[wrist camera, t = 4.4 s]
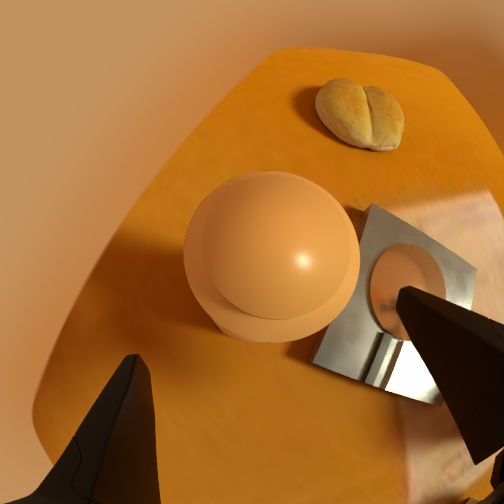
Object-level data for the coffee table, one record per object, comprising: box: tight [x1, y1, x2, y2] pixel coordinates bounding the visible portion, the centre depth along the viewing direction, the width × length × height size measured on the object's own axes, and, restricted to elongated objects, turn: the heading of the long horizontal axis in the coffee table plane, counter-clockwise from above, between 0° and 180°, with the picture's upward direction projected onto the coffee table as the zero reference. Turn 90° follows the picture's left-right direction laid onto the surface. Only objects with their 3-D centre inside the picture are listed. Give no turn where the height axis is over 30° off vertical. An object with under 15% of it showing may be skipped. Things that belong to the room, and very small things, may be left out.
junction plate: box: [307, 203, 477, 406], centre depth 17 cm, size 12×12×2 cm
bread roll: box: [315, 78, 405, 151], centre depth 21 cm, size 8×9×4 cm
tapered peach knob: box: [183, 171, 360, 343], centre depth 12 cm, size 5×5×13 cm
